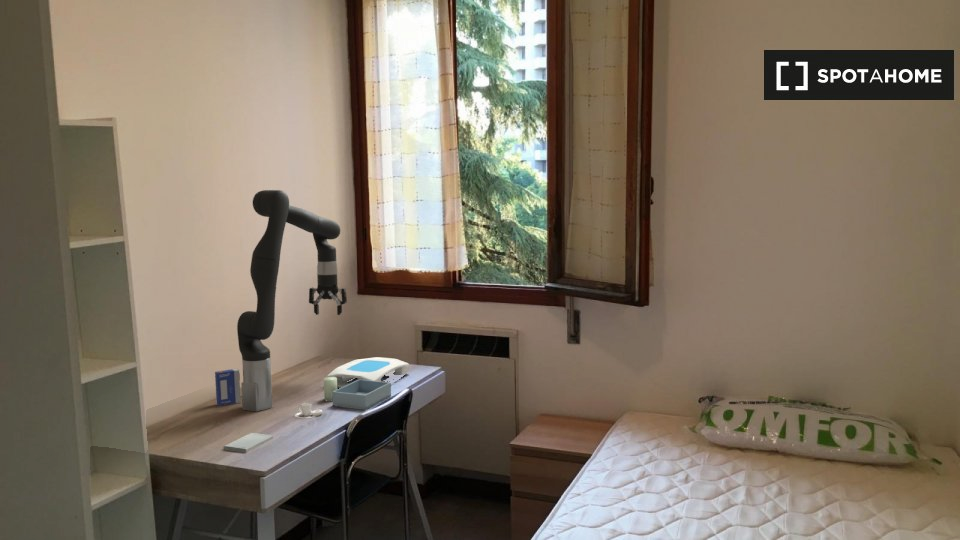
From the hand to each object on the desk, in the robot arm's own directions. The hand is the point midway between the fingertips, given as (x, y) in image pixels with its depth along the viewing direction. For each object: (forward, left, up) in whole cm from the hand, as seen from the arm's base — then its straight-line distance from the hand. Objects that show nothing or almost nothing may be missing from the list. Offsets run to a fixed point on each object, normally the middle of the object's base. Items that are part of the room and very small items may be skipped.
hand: (328, 314), depth 284 cm
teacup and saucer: (-41, -20, -27) cm, 53 cm away
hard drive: (-68, -18, -27) cm, 76 cm away
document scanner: (+5, -15, -26) cm, 31 cm away
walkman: (-38, +16, -26) cm, 49 cm away
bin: (-19, -27, -26) cm, 42 cm away
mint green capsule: (-21, -15, -26) cm, 37 cm away
